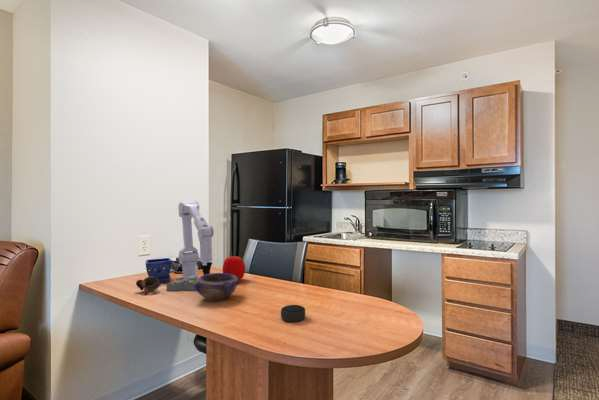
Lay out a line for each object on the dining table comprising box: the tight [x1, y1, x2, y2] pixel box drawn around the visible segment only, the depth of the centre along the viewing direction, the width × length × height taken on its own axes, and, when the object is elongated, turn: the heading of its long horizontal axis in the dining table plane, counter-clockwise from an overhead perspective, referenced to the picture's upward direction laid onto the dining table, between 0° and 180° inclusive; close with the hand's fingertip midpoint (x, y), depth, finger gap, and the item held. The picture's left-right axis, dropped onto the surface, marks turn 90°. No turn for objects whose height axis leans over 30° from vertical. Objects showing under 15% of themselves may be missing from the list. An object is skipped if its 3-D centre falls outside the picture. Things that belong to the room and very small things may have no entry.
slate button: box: [189, 275, 199, 284], centre depth 172 cm, size 4×4×4 cm
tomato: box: [222, 254, 246, 281], centre depth 186 cm, size 13×11×14 cm
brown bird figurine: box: [135, 276, 161, 295], centre depth 168 cm, size 12×10×8 cm
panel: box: [166, 280, 196, 292], centre depth 172 cm, size 8×24×3 cm, turn 87°
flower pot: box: [145, 257, 172, 284], centre depth 191 cm, size 13×13×12 cm
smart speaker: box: [280, 304, 306, 323], centre depth 124 cm, size 9×9×4 cm
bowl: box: [194, 272, 241, 302], centre depth 153 cm, size 18×18×10 cm
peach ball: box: [174, 275, 184, 284], centre depth 173 cm, size 4×4×4 cm
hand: (206, 277), depth 172 cm, fingers closed, pressing on cream button
